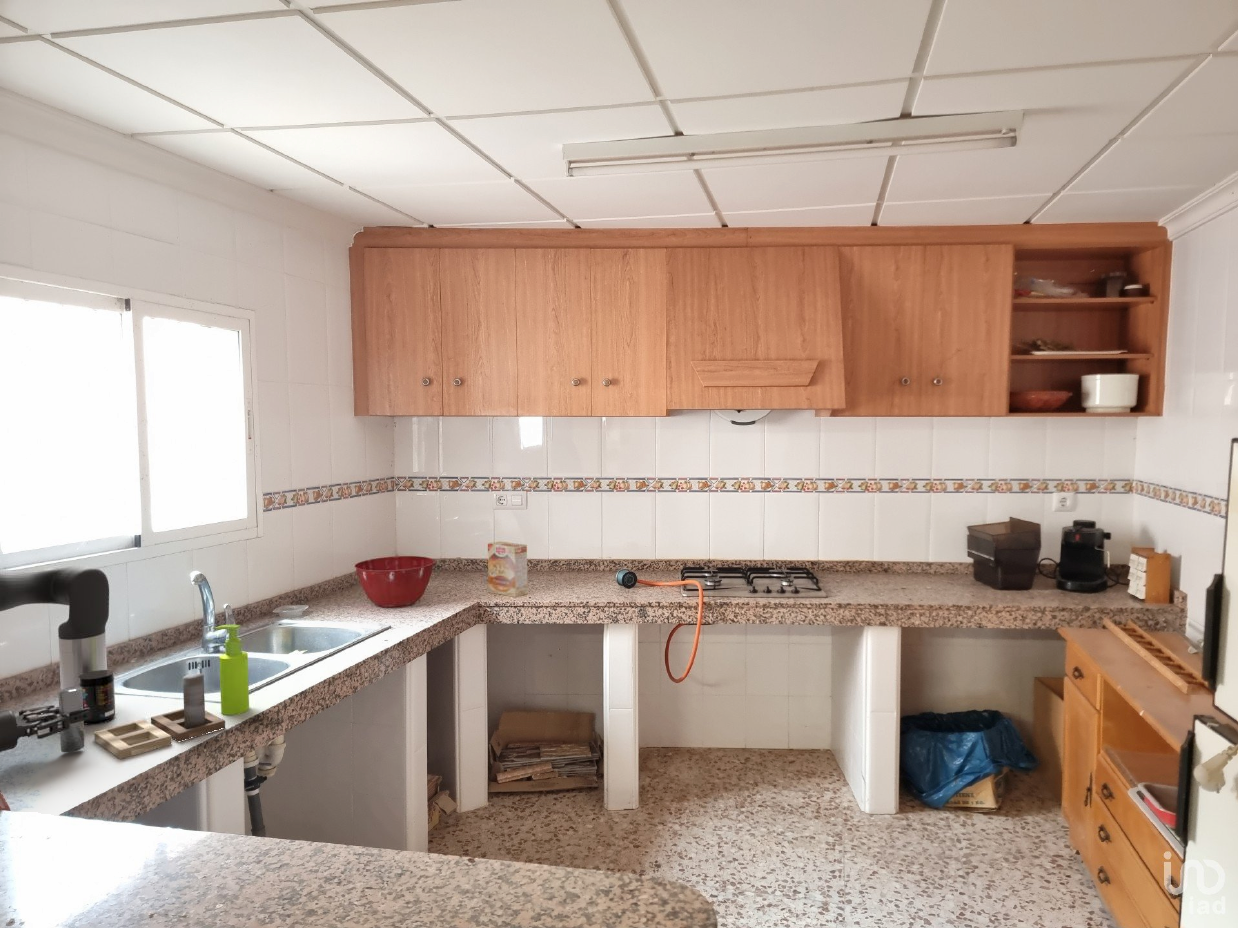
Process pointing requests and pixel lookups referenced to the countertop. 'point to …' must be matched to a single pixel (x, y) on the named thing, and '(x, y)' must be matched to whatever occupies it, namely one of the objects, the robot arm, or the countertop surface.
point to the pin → (74, 735)
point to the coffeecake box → (507, 568)
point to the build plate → (132, 738)
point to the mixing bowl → (395, 579)
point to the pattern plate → (189, 713)
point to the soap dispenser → (233, 675)
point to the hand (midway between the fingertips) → (86, 710)
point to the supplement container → (98, 695)
